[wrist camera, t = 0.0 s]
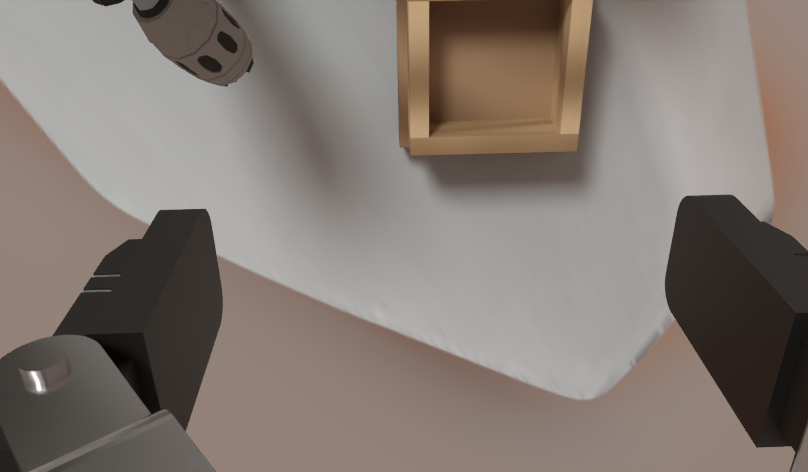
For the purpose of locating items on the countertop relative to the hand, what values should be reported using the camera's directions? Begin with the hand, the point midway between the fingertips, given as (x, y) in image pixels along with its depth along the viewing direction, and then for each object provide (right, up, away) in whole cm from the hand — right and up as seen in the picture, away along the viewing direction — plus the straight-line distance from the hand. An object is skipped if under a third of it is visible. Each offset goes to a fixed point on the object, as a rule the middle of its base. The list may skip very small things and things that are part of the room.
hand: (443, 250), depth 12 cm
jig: (+4, +13, +26) cm, 30 cm away
